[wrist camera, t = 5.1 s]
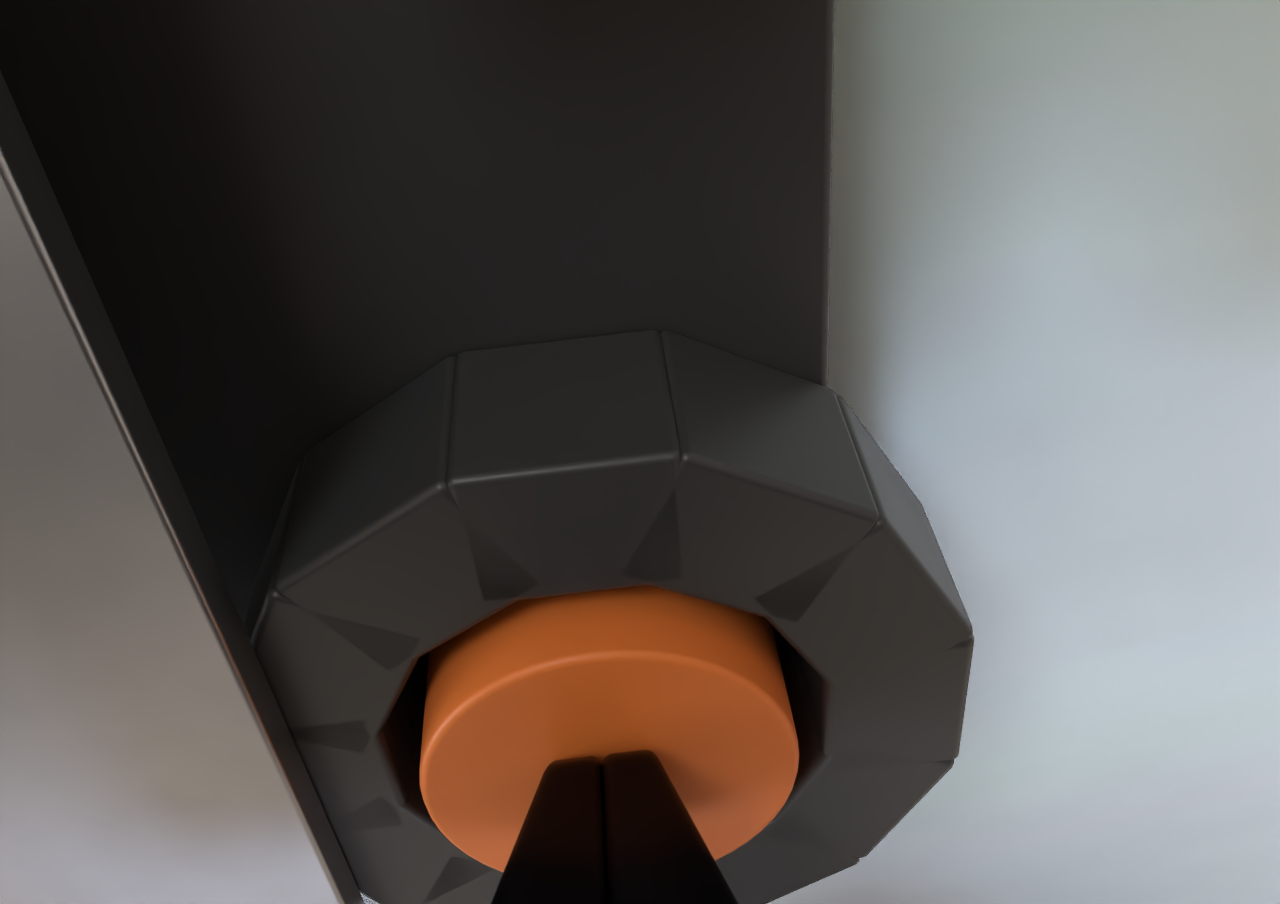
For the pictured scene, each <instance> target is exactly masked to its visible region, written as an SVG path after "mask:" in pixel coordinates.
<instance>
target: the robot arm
mask: <svg viewBox="0 0 1280 904" xmlns="http://www.w3.org/2000/svg"><path fill="white" fill-rule="evenodd" d="M491 904H739V903H738V902H737V900H736V898H735V896H734V894H733V893H732V891H731V889H730V887H729V885H728V883H727V882H726V880H725V878H724V876H723V874H722V873H721V871H720V869H719V867H718V865H717V863H716V862H715V860H714V858H713V856H712V854H711V853H710V851H709V849H708V847H707V845H706V843H705V842H704V840H703V838H702V836H701V834H700V833H699V831H698V829H697V827H696V825H695V823H694V822H693V820H692V818H691V816H690V814H689V813H688V811H687V809H686V807H685V805H684V803H683V802H682V800H681V798H680V796H679V794H678V793H677V791H676V789H675V787H674V785H673V783H672V782H671V780H670V778H669V776H668V774H667V773H666V771H665V769H664V767H663V765H662V763H661V762H660V760H659V758H658V757H657V755H656V754H655V753H654V752H652V751H650V750H637V751H629V752H620V753H612V754H609V755H607V756H606V757H605V758H604V760H603V762H602V763H601V761H600V760H599V758H597V757H595V756H586V757H578V758H570V759H561V760H555V761H553V762H551V763H550V764H549V765H548V766H547V768H546V769H545V771H544V773H543V775H542V778H541V780H540V783H539V785H538V788H537V790H536V792H535V795H534V797H533V800H532V802H531V805H530V807H529V810H528V812H527V815H526V817H525V820H524V822H523V825H522V827H521V830H520V832H519V835H518V837H517V840H516V842H515V845H514V847H513V849H512V852H511V854H510V857H509V859H508V862H507V864H506V867H505V869H504V872H503V874H502V877H501V879H500V882H499V884H498V887H497V889H496V892H495V894H494V897H493V899H492V902H491Z"/></svg>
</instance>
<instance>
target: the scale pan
mask: <svg viewBox="0 0 1280 904" xmlns="http://www.w3.org/2000/svg"><path fill="white" fill-rule="evenodd" d="M0 904H365V903H364V901H363V899H362V897H361V894H360V892H359V890H358V887H357V885H356V883H355V880H354V878H353V876H352V874H351V871H350V869H349V867H348V864H347V862H346V860H345V858H344V855H343V853H342V851H341V848H340V846H339V844H338V842H337V839H336V837H335V835H334V832H333V830H332V828H331V826H330V823H329V821H328V819H327V816H326V814H325V812H324V810H323V807H322V805H321V803H320V800H319V798H318V796H317V794H316V791H315V789H314V787H313V784H312V782H311V780H310V778H309V775H308V773H307V771H306V768H305V766H304V764H303V762H302V759H301V757H300V755H299V752H298V750H297V748H296V745H295V743H294V741H293V739H292V736H291V734H290V732H289V729H288V727H287V725H286V723H285V720H284V718H283V716H282V713H281V711H280V709H279V707H278V704H277V702H276V700H275V697H274V695H273V693H272V691H271V688H270V686H269V684H268V681H267V679H266V677H265V675H264V672H263V670H262V668H261V665H260V663H259V661H258V659H257V656H256V654H255V652H254V649H253V647H252V645H251V643H250V640H249V638H248V636H247V633H246V631H245V629H244V627H243V624H242V622H241V620H240V617H239V615H238V613H237V610H236V608H235V606H234V604H233V601H232V599H231V597H230V594H229V592H228V590H227V588H226V585H225V583H224V581H223V578H222V576H221V574H220V572H219V569H218V567H217V565H216V562H215V560H214V558H213V556H212V553H211V551H210V549H209V546H208V544H207V542H206V540H205V537H204V535H203V533H202V530H201V528H200V526H199V524H198V521H197V519H196V517H195V514H194V512H193V510H192V508H191V505H190V503H189V501H188V498H187V496H186V494H185V491H184V489H183V487H182V485H181V482H180V480H179V478H178V475H177V473H176V471H175V469H174V466H173V464H172V462H171V459H170V457H169V455H168V453H167V450H166V448H165V446H164V443H163V441H162V439H161V437H160V434H159V432H158V430H157V427H156V425H155V423H154V421H153V418H152V416H151V414H150V411H149V409H148V407H147V405H146V402H145V400H144V398H143V395H142V393H141V391H140V389H139V386H138V384H137V382H136V379H135V377H134V375H133V373H132V370H131V368H130V366H129V363H128V361H127V359H126V356H125V354H124V352H123V350H122V347H121V345H120V343H119V340H118V338H117V336H116V334H115V331H114V329H113V327H112V324H111V322H110V320H109V318H108V315H107V313H106V311H105V308H104V306H103V304H102V302H101V299H100V297H99V295H98V292H97V290H96V288H95V286H94V283H93V281H92V279H91V276H90V274H89V272H88V270H87V267H86V265H85V263H84V260H83V258H82V256H81V254H80V251H79V249H78V247H77V244H76V242H75V240H74V238H73V235H72V233H71V231H70V228H69V226H68V224H67V221H66V219H65V217H64V215H63V212H62V210H61V208H60V205H59V203H58V201H57V199H56V196H55V194H54V192H53V189H52V187H51V185H50V183H49V180H48V178H47V176H46V173H45V171H44V169H43V167H42V164H41V162H40V160H39V157H38V155H37V153H36V151H35V148H34V146H33V144H32V141H31V139H30V137H29V135H28V132H27V130H26V128H25V125H24V123H23V121H22V119H21V116H20V114H19V112H18V109H17V107H16V105H15V102H14V100H13V98H12V96H11V93H10V91H9V89H8V86H7V84H6V82H5V80H4V77H3V75H2V73H1V70H0Z"/></svg>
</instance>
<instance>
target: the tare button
mask: <svg viewBox="0 0 1280 904" xmlns="http://www.w3.org/2000/svg"><path fill="white" fill-rule="evenodd" d="M637 750H650V751H652V752H654V753H655V754H656V755H657V757H658V758H659V760H660V762H661V763H662V765H663V767H664V769H665V771H666V773H667V774H668V776H669V778H670V780H671V782H672V783H673V785H674V787H675V789H676V791H677V793H678V794H679V796H680V798H681V800H682V802H683V803H684V805H685V807H686V809H687V811H688V813H689V814H690V816H691V818H692V820H693V822H694V823H695V825H696V827H697V829H698V831H699V833H700V834H701V836H702V838H703V840H704V842H705V843H706V845H707V847H708V849H709V851H710V853H711V854H712V856H713V858H714V860H717V859H719V858H721V857H723V856H725V855H727V854H729V853H731V852H733V851H734V850H736V849H737V848H739V847H740V846H742V845H744V844H745V843H747V842H748V841H749V840H751V839H752V838H753V837H754V836H756V835H757V834H758V833H759V832H761V831H762V830H763V829H764V828H765V827H766V826H767V825H768V824H769V823H770V822H771V821H772V820H773V819H774V818H775V816H776V815H777V814H778V812H779V811H780V810H781V808H782V807H783V806H784V804H785V802H786V800H787V799H788V797H789V795H790V793H791V791H792V788H793V785H794V782H795V779H796V775H797V772H798V765H799V746H798V738H797V734H796V729H795V725H794V721H793V716H792V712H791V707H790V703H789V699H788V694H787V690H786V686H785V681H784V677H783V672H782V668H781V664H780V659H779V655H778V651H777V646H776V642H775V637H774V633H773V629H772V624H771V623H770V622H769V621H768V620H767V619H766V618H765V617H762V616H758V615H755V614H751V613H747V612H744V611H740V610H737V609H733V608H729V607H726V606H722V605H719V604H715V603H712V602H708V601H704V600H701V599H697V598H694V597H690V596H686V595H683V594H679V593H676V592H672V591H669V590H665V589H661V588H658V587H654V586H651V585H645V586H636V587H628V588H619V589H611V590H603V591H594V592H586V593H577V594H569V595H560V596H552V597H543V598H535V599H527V600H518V601H516V602H515V603H513V604H511V605H509V606H508V607H506V608H504V609H502V610H501V611H499V612H497V613H495V614H494V615H492V616H490V617H488V618H487V619H485V620H483V621H481V622H480V623H478V624H476V625H475V626H473V627H471V628H469V629H468V630H466V631H464V632H462V633H461V634H459V635H457V636H455V637H454V638H452V639H450V640H448V641H447V642H445V643H443V644H441V645H440V646H438V647H436V648H434V649H433V650H431V651H429V661H428V673H427V685H426V697H425V709H424V721H423V733H422V745H421V757H420V769H419V770H420V789H421V793H422V797H423V801H424V803H425V806H426V808H427V810H428V812H429V814H430V816H431V819H432V820H433V822H434V823H435V824H436V826H437V827H438V829H439V830H440V831H441V833H442V834H443V835H444V836H445V837H446V838H447V839H448V840H449V841H450V842H451V843H452V844H454V845H455V846H456V847H458V848H459V849H460V850H462V851H463V852H464V853H466V854H467V855H469V856H470V857H472V858H474V859H476V860H477V861H479V862H481V863H483V864H485V865H487V866H489V867H492V868H494V869H496V870H499V871H501V872H504V869H505V867H506V864H507V862H508V859H509V857H510V854H511V852H512V849H513V847H514V845H515V842H516V840H517V837H518V835H519V832H520V830H521V827H522V825H523V822H524V820H525V817H526V815H527V812H528V810H529V807H530V805H531V802H532V800H533V797H534V795H535V792H536V790H537V788H538V785H539V783H540V780H541V778H542V775H543V773H544V771H545V769H546V768H547V766H548V765H549V764H550V763H551V762H553V761H555V760H561V759H570V758H578V757H586V756H595V757H597V758H599V760H600V761H601V763H602V762H603V760H604V758H605V757H606V756H607V755H609V754H612V753H620V752H629V751H637Z"/></svg>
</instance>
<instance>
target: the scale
mask: <svg viewBox="0 0 1280 904" xmlns="http://www.w3.org/2000/svg"><path fill="white" fill-rule="evenodd" d="M834 7H835V0H0V70H1V73H2V75H3V77H4V80H5V82H6V84H7V86H8V89H9V91H10V93H11V96H12V98H13V100H14V102H15V105H16V107H17V109H18V112H19V114H20V116H21V119H22V121H23V123H24V125H25V128H26V130H27V132H28V135H29V137H30V139H31V141H32V144H33V146H34V148H35V151H36V153H37V155H38V157H39V160H40V162H41V164H42V167H43V169H44V171H45V173H46V176H47V178H48V180H49V183H50V185H51V187H52V189H53V192H54V194H55V196H56V199H57V201H58V203H59V205H60V208H61V210H62V212H63V215H64V217H65V219H66V221H67V224H68V226H69V228H70V231H71V233H72V235H73V238H74V240H75V242H76V244H77V247H78V249H79V251H80V254H81V256H82V258H83V260H84V263H85V265H86V267H87V270H88V272H89V274H90V276H91V279H92V281H93V283H94V286H95V288H96V290H97V292H98V295H99V297H100V299H101V302H102V304H103V306H104V308H105V311H106V313H107V315H108V318H109V320H110V322H111V324H112V327H113V329H114V331H115V334H116V336H117V338H118V340H119V343H120V345H121V347H122V350H123V352H124V354H125V356H126V359H127V361H128V363H129V366H130V368H131V370H132V373H133V375H134V377H135V379H136V382H137V384H138V386H139V389H140V391H141V393H142V395H143V398H144V400H145V402H146V405H147V407H148V409H149V411H150V414H151V416H152V418H153V421H154V423H155V425H156V427H157V430H158V432H159V434H160V437H161V439H162V441H163V443H164V446H165V448H166V450H167V453H168V455H169V457H170V459H171V462H172V464H173V466H174V469H175V471H176V473H177V475H178V478H179V480H180V482H181V485H182V487H183V489H184V491H185V494H186V496H187V498H188V501H189V503H190V505H191V508H192V510H193V512H194V514H195V517H196V519H197V521H198V524H199V526H200V528H201V530H202V533H203V535H204V537H205V540H206V542H207V544H208V546H209V549H210V551H211V553H212V556H213V558H214V560H215V562H216V565H217V567H218V569H219V572H220V574H221V576H222V578H223V581H224V583H225V585H226V588H227V590H228V592H229V594H230V597H231V599H232V601H233V604H234V606H235V608H236V610H237V613H238V615H239V617H240V620H241V622H242V624H243V627H244V629H245V631H246V633H247V636H248V638H249V640H250V643H251V645H252V647H253V649H254V652H255V654H256V656H257V659H258V661H259V663H260V665H261V668H262V670H263V672H264V675H265V677H266V679H267V681H268V684H269V686H270V688H271V691H272V693H273V695H274V697H275V700H276V702H277V704H278V707H279V709H280V711H281V713H282V716H283V718H284V720H285V723H286V725H287V727H288V729H289V732H290V734H291V736H292V739H293V741H294V743H295V745H296V748H297V750H298V752H299V755H300V757H301V759H302V762H303V764H304V766H305V768H306V771H307V773H308V775H309V778H310V780H311V782H312V784H313V787H314V789H315V791H316V794H317V796H318V798H319V800H320V803H321V805H322V807H323V810H324V812H325V814H326V816H327V819H328V821H329V823H330V826H331V828H332V830H333V832H334V835H335V837H336V839H337V842H338V844H339V846H340V848H341V851H342V853H343V855H344V858H345V860H346V862H347V864H348V867H349V869H350V871H351V874H352V876H353V878H354V880H355V883H356V885H357V887H358V890H359V892H360V893H362V894H364V895H365V896H367V897H369V898H371V899H372V900H374V901H376V902H377V903H379V904H491V902H492V899H493V897H494V894H495V892H496V889H497V887H498V884H499V882H500V879H501V877H502V874H503V872H501V871H499V870H496V869H494V868H492V867H489V866H487V865H485V864H483V863H481V862H479V861H477V860H476V859H474V858H472V857H470V856H469V855H467V854H466V853H464V852H463V851H462V850H460V849H459V848H458V847H456V846H455V845H454V844H452V843H451V842H450V841H449V840H448V839H447V838H446V837H445V836H444V835H443V834H442V833H441V831H440V830H439V829H438V827H437V826H436V824H435V823H434V822H433V820H432V819H431V816H430V814H429V812H428V810H427V808H426V806H425V803H424V801H423V797H422V793H421V789H420V770H419V769H420V757H421V745H422V733H423V721H424V709H425V697H426V685H427V673H428V661H429V651H431V650H433V649H434V648H436V647H438V646H440V645H441V644H443V643H445V642H447V641H448V640H450V639H452V638H454V637H455V636H457V635H459V634H461V633H462V632H464V631H466V630H468V629H469V628H471V627H473V626H475V625H476V624H478V623H480V622H481V621H483V620H485V619H487V618H488V617H490V616H492V615H494V614H495V613H497V612H499V611H501V610H502V609H504V608H506V607H508V606H509V605H511V604H513V603H515V602H516V601H518V600H527V599H535V598H543V597H552V596H560V595H569V594H577V593H586V592H594V591H603V590H611V589H619V588H628V587H636V586H645V585H651V586H654V587H658V588H661V589H665V590H669V591H672V592H676V593H679V594H683V595H686V596H690V597H694V598H697V599H701V600H704V601H708V602H712V603H715V604H719V605H722V606H726V607H729V608H733V609H737V610H740V611H744V612H747V613H751V614H755V615H758V616H762V617H765V618H766V619H767V620H768V621H769V622H770V623H771V624H772V629H773V633H774V637H775V642H776V646H777V651H778V655H779V659H780V664H781V668H782V672H783V677H784V681H785V686H786V690H787V694H788V699H789V703H790V707H791V712H792V716H793V721H794V725H795V729H796V734H797V738H798V746H799V765H798V772H797V775H796V779H795V782H794V785H793V788H792V791H791V793H790V795H789V797H788V799H787V800H786V802H785V804H784V806H783V807H782V808H781V810H780V811H779V812H778V814H777V815H776V816H775V818H774V819H773V820H772V821H771V822H770V823H769V824H768V825H767V826H766V827H765V828H764V829H763V830H762V831H761V832H759V833H758V834H757V835H756V836H754V837H753V838H752V839H751V840H749V841H748V842H747V843H745V844H744V845H742V846H740V847H739V848H737V849H736V850H734V851H733V852H731V853H729V854H727V855H725V856H723V857H721V858H719V859H717V860H715V862H716V863H717V865H718V867H719V869H720V871H721V873H722V874H723V876H724V878H725V880H726V882H727V883H728V885H729V887H730V889H731V891H732V893H733V894H734V896H735V898H736V900H737V902H738V903H739V904H766V903H768V902H771V901H773V900H775V899H777V898H780V897H782V896H784V895H787V894H789V893H791V892H793V891H796V890H798V889H800V888H803V887H805V886H807V885H809V884H812V883H814V882H816V881H819V880H821V879H823V878H825V877H828V876H830V875H832V874H835V873H837V872H839V871H842V870H844V869H846V868H848V867H851V866H853V865H855V864H857V863H858V862H859V858H862V857H865V856H867V855H868V854H869V853H870V852H871V850H872V849H873V848H874V847H875V846H876V845H877V844H878V843H879V842H880V841H881V840H882V839H883V838H884V837H885V836H886V835H887V834H888V833H889V832H890V831H891V830H892V829H893V828H894V827H895V826H896V825H897V824H898V823H899V821H900V820H901V819H902V818H903V817H904V816H905V815H906V814H907V813H908V812H909V811H910V810H911V809H912V808H913V807H914V806H915V805H916V804H917V803H918V802H919V801H920V800H921V799H922V798H923V797H924V796H925V795H926V794H927V793H928V791H929V790H930V789H931V788H932V787H933V786H934V785H935V784H936V783H937V782H938V781H939V780H940V779H941V778H942V777H943V776H944V775H945V774H946V773H947V772H948V771H949V770H950V769H951V768H952V766H953V763H954V759H955V758H956V757H957V756H958V753H959V746H960V739H961V732H962V724H963V717H964V710H965V703H966V695H967V688H968V681H969V674H970V667H971V659H972V652H973V645H974V636H973V631H972V625H971V623H970V620H969V618H968V615H967V613H966V610H965V608H964V606H963V603H962V601H961V598H960V596H959V593H958V591H957V589H956V586H955V584H954V581H953V579H952V576H951V574H950V572H949V569H948V567H947V564H946V562H945V559H944V557H943V555H942V552H941V550H940V547H939V545H938V542H937V540H936V538H935V535H934V533H933V530H932V528H931V525H930V523H929V521H928V518H927V516H926V513H925V511H924V508H923V506H922V504H921V502H920V501H919V500H918V498H917V497H916V496H915V494H914V493H913V492H912V490H911V489H910V488H909V486H908V485H907V484H906V482H905V481H904V480H903V478H902V477H901V476H900V474H899V473H898V472H897V470H896V469H895V467H894V466H893V465H892V463H891V462H890V461H889V459H888V458H887V457H886V455H885V454H884V453H883V451H882V450H881V449H880V447H879V446H878V445H877V443H876V442H875V441H874V439H873V438H872V437H871V435H870V434H869V432H868V431H867V430H866V428H865V427H864V426H863V424H862V423H861V422H860V420H859V419H858V418H857V416H856V415H855V414H854V412H853V411H852V410H851V408H850V407H849V406H848V404H847V403H846V402H845V400H844V399H843V398H841V397H840V396H838V395H837V394H835V393H834V392H833V391H832V390H831V389H829V388H828V336H829V281H830V226H831V172H832V117H833V62H834Z"/></svg>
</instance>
